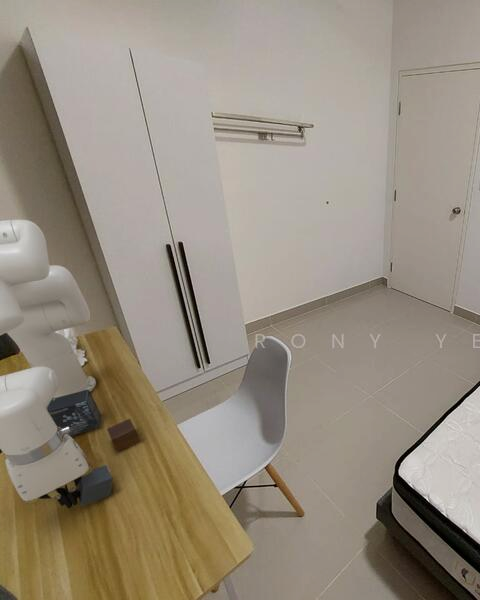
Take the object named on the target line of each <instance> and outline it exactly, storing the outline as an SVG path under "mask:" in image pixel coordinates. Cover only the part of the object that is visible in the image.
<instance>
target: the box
mask: <svg viewBox="0 0 480 600" xmlns="http://www.w3.org/2000/svg"><path fill="white" fill-rule="evenodd" d="M46 409H47V411H48V413H49V414H50V416H51V417H52V419H53V421H54V422H55V424H56V425H57V426H58V428H59V427H60V428H65V427H67V426H69V428H70V430H71V432H69V433H67V434H68V435H69V436H70V437H74V436H78V435H80V434H83V433H88V432H90V431H94V430H98V429H100V425H101V419H102V414H101V412H100V409H99V407H98V405H97V403H96V402H95V399H94V397H93V395H92V393H91V392H90V391H89V389H87V390H84V391H80V392H76V393H72V394H69V395H65V396H61V397H57V398H52V400H51V401H50V403H49V405H48V406H47V408H46Z"/></svg>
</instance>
